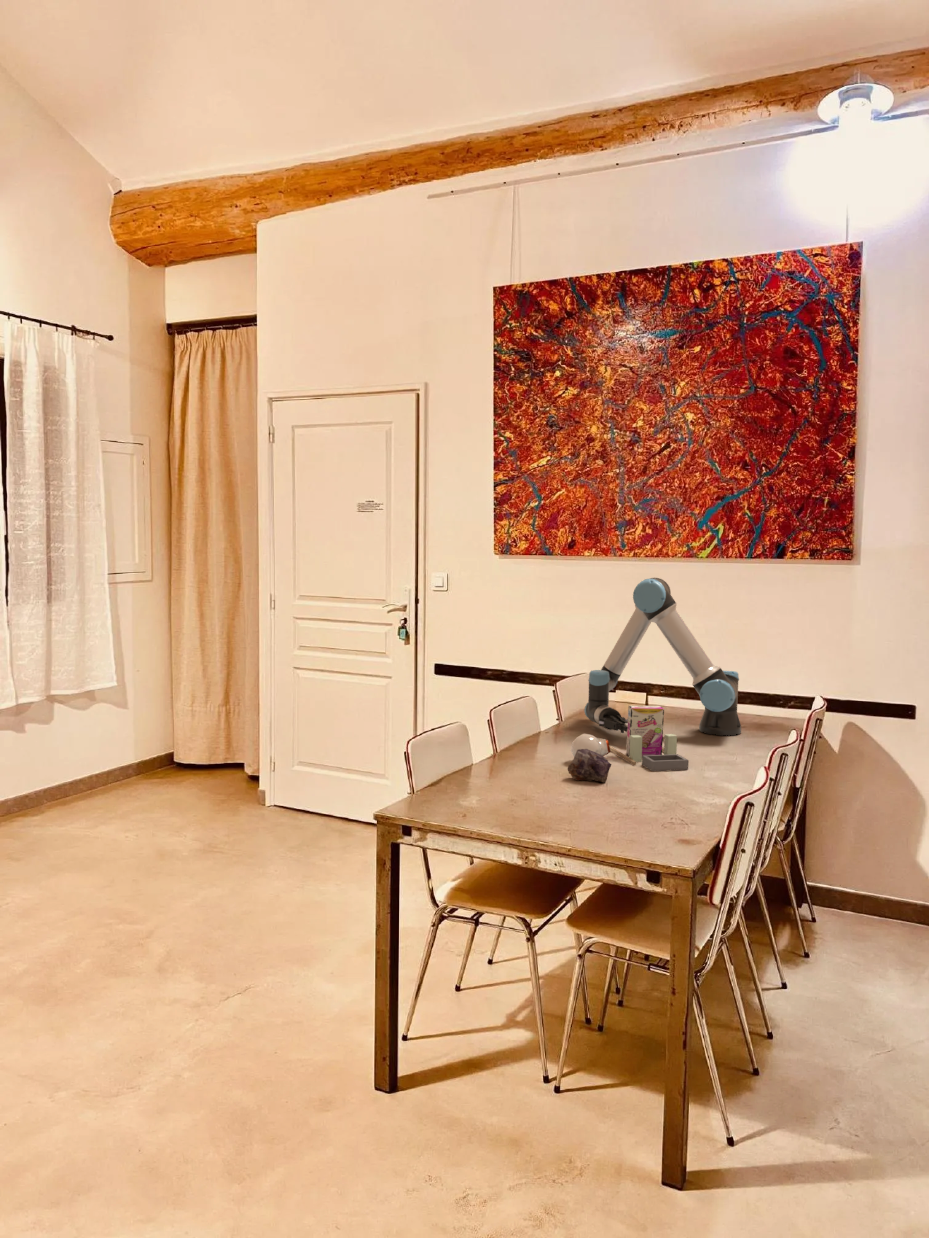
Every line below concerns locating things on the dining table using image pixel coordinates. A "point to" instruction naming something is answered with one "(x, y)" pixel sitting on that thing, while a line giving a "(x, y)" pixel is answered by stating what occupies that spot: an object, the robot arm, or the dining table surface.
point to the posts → (636, 746)
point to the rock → (589, 766)
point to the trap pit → (665, 762)
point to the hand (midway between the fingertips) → (634, 731)
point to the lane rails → (625, 755)
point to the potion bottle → (591, 744)
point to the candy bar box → (646, 728)
